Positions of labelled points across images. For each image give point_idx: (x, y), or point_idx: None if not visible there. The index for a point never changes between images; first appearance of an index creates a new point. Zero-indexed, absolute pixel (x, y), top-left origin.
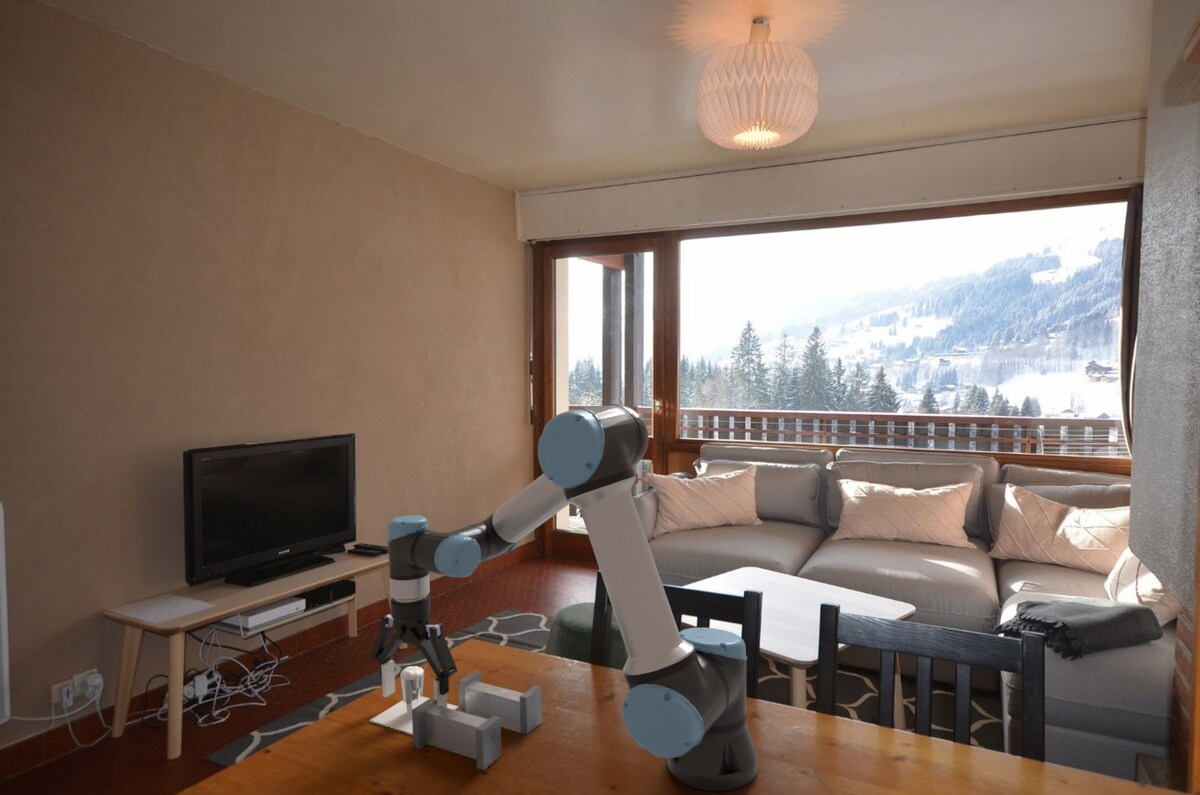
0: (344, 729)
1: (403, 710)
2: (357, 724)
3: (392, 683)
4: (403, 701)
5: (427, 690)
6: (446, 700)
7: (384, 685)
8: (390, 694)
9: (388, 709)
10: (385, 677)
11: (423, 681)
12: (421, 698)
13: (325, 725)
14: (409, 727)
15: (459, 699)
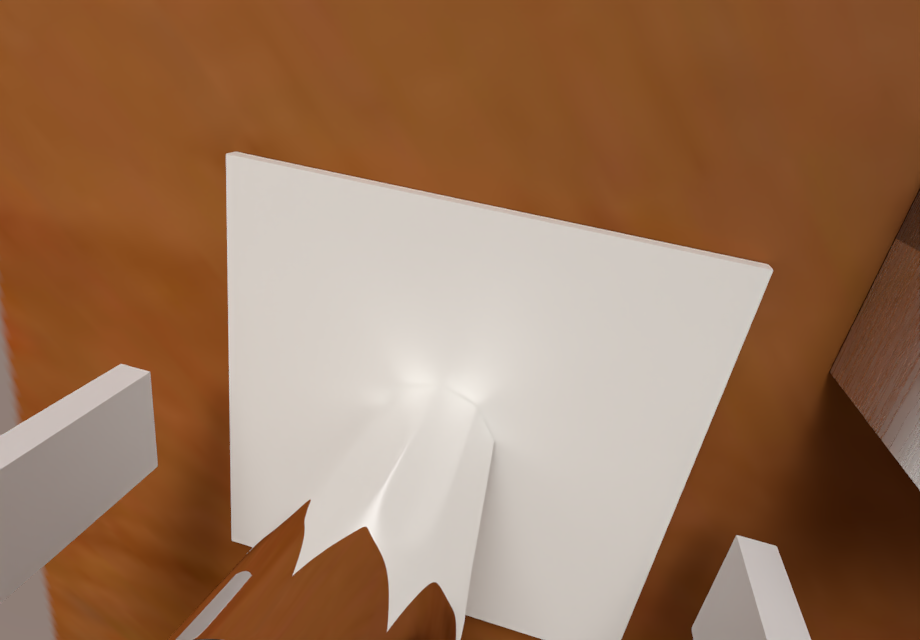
0: (182, 599)
1: (339, 416)
2: (199, 555)
3: (81, 446)
4: (246, 295)
5: (277, 6)
6: (792, 606)
7: (71, 538)
8: (153, 418)
9: (236, 417)
10: (3, 589)
11: (438, 633)
12: (477, 531)
13: (75, 574)
14: (518, 596)
15: (899, 462)
